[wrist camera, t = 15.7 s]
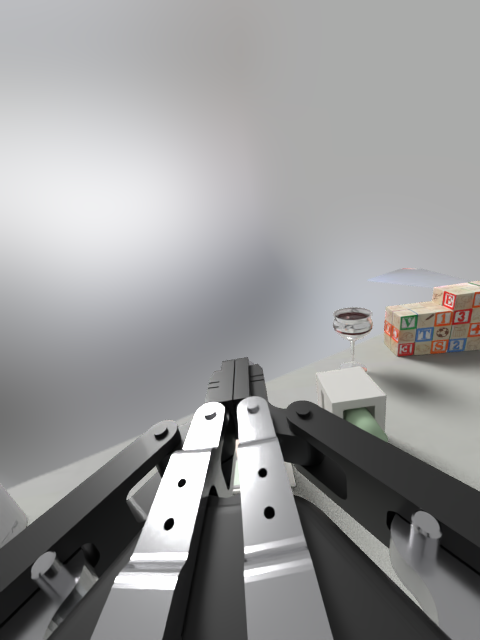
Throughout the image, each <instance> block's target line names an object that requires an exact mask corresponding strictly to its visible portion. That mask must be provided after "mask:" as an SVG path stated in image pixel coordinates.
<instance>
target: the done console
mask: <svg viewBox="0 0 480 640" xmlns="http://www.w3.org/2000/svg"><path fill="white" fill-rule="evenodd" d="M316 383H317V395H318V406H320V407H322V408H323V409H325V410H327V411H329V412H331V413H333V414H335V415H337V416H338V417H340V418H342V419H343V411H344V410H347V409H354V408H361V407H366V408H367V409H368V411H369V412H370V413H371V415H372V416H373V417H374V419H375V420H376V422H377V423H378V424H379V426H380V427H381V429H382V430H383V431H384V433H385V414H386V394H385V393H384V392H383V391H382V390H381V389H380V388H379V387H378V385H377V384H376V383H375V382H374V381H373V380H372V379H371V378H370V377H369V375H368V374H367V373H366V372H365V371H364V370H363V369H362V368H361V367H360V366H357V367H351V368H345V369H338V370H332V371H325V372H319V373H316Z"/></svg>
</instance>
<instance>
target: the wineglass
mask: <svg viewBox="0 0 480 640" xmlns="http://www.w3.org/2000/svg"><path fill="white" fill-rule="evenodd" d="M333 316H334V317H335V319H334V321H333V327H334V329H335V331H336V333H337V334H338V335H340V336H341V337H342V338H344V339H347V340H349V341H350V346H351V361H350V362H344V363H342V364H341V365H340V369H345V368H351V367H357V366H360V367H361V368H362V369H363V370H364V371H365V372H366V370H367V368H366V366H364V365H363V364H361V363H359V362H354V345H355V341H356V340H359V339H362V338H364V337H365V336H366V335H368V334H369V333H370V331H371V329H372V324H373V322H372V319H371V316H372V312H371V311H370V310H368V309H364V308H357V307H355V308H354V307H352V308H343V309H339V310H337V311H335V312H334V313H333Z"/></svg>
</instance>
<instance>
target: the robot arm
mask: <svg viewBox="0 0 480 640" xmlns="http://www.w3.org/2000/svg"><path fill="white" fill-rule="evenodd" d="M238 439H239V443H240V444H238V461H239V476H240V491H241V493H239V494H236V495H234V496H233V486H234V476H235V466H236V457H237V454H236V449H235V448H236V440H238ZM284 462H288V463H293V464H294V466H295V468H296V469H297V470H298V471H299V472H300V473H301V474H302V475H304V476H305V477H306V478H307V479H308V480H309V481H311V482H312V483H313V484H314V485H315V486H316V487H318V488H319V489H320V490H321V491H322V492H323V493H325V494H326V495H327V496H328V497H329V498H330V499H332V500H333V501H334V502H335V503H336V504H337V505H339V506H340V507H341V508H342V509H343V510H344V511H346V512H347V513H348V514H349V515H350V516H351V517H353V518H354V519H355V520H356V521H357V522H358V523H360V524H361V525H362V526H363V527H364V528H365V529H367V530H368V531H369V532H370V533H371V534H372V535H374V536H375V537H376V538H377V539H378V540H379V541H381V542H382V543H383V544H384V545H385V546H386V547H388V548H389V556H390V561H391V564H392V567H393V569H394V571H395V573H396V575H397V576H398V578H399V579H400V581H401V582H402V583H403V585H404V586H405V587H406V588H407V589H408V590H409V591H410V592H411V594H412V595H413V596H414V597H415V598H416V600H417V601H418V603H419V604H420V606H421V607H422V609H423V610H421V609H420V608H419V607H418V606H417V605H416V604H415V603H414V602H413V601H412V600H411V599H410V598H409V597H408V596H407V595H406V594H405V593H404V592H403V591H402V590H401V589H400V588H399V587H398V586H397V585H396V584H395V583H394V582H393V581H392V580H391V579H390V578H389V577H388V576H387V575H386V574H385V573H384V572H383V571H382V570H381V569H380V568H379V567H378V566H377V565H376V564H375V563H374V562H373V561H372V560H371V559H370V558H369V557H368V556H367V555H366V554H365V553H364V552H363V551H362V550H361V549H360V548H359V547H358V546H357V545H356V544H355V543H354V542H353V541H352V540H351V539H350V538H349V537H348V536H347V535H346V534H345V533H344V532H343V531H342V530H341V529H340V528H339V527H338V526H337V525H336V524H335V523H334V522H333V521H332V520H331V519H330V518H329V517H328V516H327V515H326V514H325V513H324V512H322V511H321V510H320V509H319V508H318V507H316V506H315V505H314V504H312V503H311V502H309V501H307V500H306V499H303V498H301V497H299V496H296V495H293V493H292V489H291V485H290V482H289V478H288V474H287V471H286V467H285V463H284ZM155 466H156V467H157V470H158V472H157V473H156V474H155V475H154V476H153V477H152V478H151V479H149V480H148V481H147V482H146V483H145V484H144V485H143V486H142V487H141V488H140V489H139V490H138V491H137V492H136V493H135V494H134V495H133V496H132V497H131V498H130V499H128V500H126V498H127V495H128V493H129V491H130V490H131V489H132V488H133V487H134V486H135V485H136V484H137V483H138V482H139V481H140V480H141V479H142V478H143V477H144V476H145V475H146V474H147V473H148V472H149V471H151V470H152V469H153V468H154V467H155ZM26 526H27V517H26V514H25V513H24V512H23V511H22V509H21V508H20V507H19V506H18V504H17V503H16V502H15V501H14V500H13V498H12V497H11V496H10V494H9V493H8V492H7V491H6V490H5V488H4V487H3V486H2V485H1V484H0V640H480V491H478V490H476V489H474V488H472V487H470V486H468V485H466V484H464V483H463V482H461V481H459V480H457V479H455V478H453V477H451V476H449V475H448V474H446V473H444V472H442V471H440V470H438V469H436V468H434V467H433V466H431V465H429V464H427V463H425V462H423V461H421V460H419V459H417V458H416V457H414V456H412V455H410V454H408V453H406V452H404V451H402V450H401V449H399V448H397V447H395V446H393V445H391V444H389V443H387V442H385V441H384V440H382V439H380V438H378V437H376V436H374V435H372V434H370V433H369V432H367V431H365V430H363V429H361V428H359V427H357V426H355V425H353V424H352V423H350V422H348V421H346V420H344V419H342V418H340V417H338V416H337V415H335V414H333V413H331V412H329V411H327V410H325V409H323V408H322V407H320V406H318V405H316V404H314V403H312V402H309V401H296V402H293V403H291V404H290V405H289V406H288V407H287V409H282V408H277V407H275V406H273V405H271V404H270V403H269V402H268V398H267V391H266V386H265V381H264V375H263V370H262V368H261V367H260V366H259V365H258V364H255V365H250V364H249V360H248V357H245V358H239V359H236V360H235V359H234V360H227V361H223V362H222V367H221V370H219V371H215V372H214V373H213V374H212V375H211V377H210V380H209V384H208V389H207V393H206V398H205V402H204V405H203V406H202V407H200V408H199V409H198V410H197V412H196V414H195V416H194V419H193V420H192V421H190V422H188V423H185V424H183V425H180V426H177V424H176V422H175V421H173V420H164V421H161V422H158V423H157V424H155V425H154V426H152V427H151V428H150V429H148V430H147V431H146V432H145V433H144V434H142V435H141V436H140V437H139V438H137V439H136V440H135V441H134V442H132V443H131V444H130V445H129V446H127V447H126V448H125V449H124V450H122V451H121V452H120V453H119V454H117V455H116V456H115V457H114V458H112V459H111V460H110V461H109V462H107V463H106V464H105V465H104V466H102V467H101V468H100V469H99V470H97V471H96V472H95V473H94V474H92V475H91V476H90V477H89V478H87V479H86V480H85V481H84V482H83V483H81V484H80V485H79V486H78V487H76V488H75V489H74V490H73V491H71V492H70V493H69V494H68V495H66V496H65V497H64V498H63V499H61V500H60V501H59V502H58V503H56V504H55V505H54V506H53V507H51V508H50V509H49V510H48V511H46V512H45V513H44V514H43V515H41V516H40V517H39V518H38V519H36V520H35V521H34V522H33V523H31V524H30V525H29V526H28V527H26Z"/></svg>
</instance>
